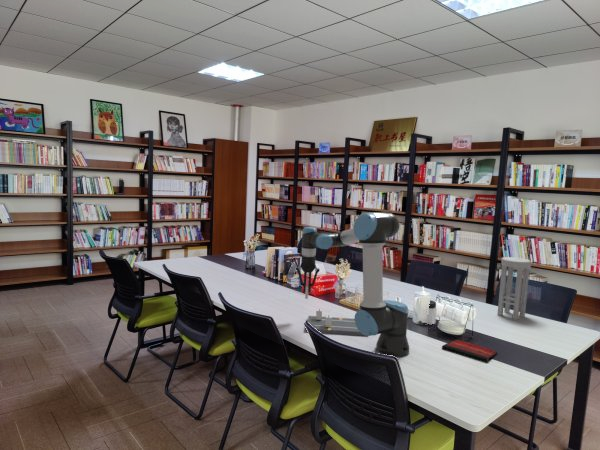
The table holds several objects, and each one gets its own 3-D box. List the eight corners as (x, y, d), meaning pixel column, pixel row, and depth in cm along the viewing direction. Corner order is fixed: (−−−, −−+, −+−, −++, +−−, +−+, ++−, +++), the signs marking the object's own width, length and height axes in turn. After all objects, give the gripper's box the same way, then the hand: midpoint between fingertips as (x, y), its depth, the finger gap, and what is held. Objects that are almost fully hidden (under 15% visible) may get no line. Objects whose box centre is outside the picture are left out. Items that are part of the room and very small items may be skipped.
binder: (487, 359, 186) (441, 345, 200) (486, 364, 186) (441, 350, 200) (498, 350, 198) (455, 338, 212) (498, 355, 198) (454, 342, 212)
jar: (416, 320, 240) (417, 299, 239) (428, 319, 243) (430, 299, 242) (425, 325, 232) (426, 304, 231) (437, 324, 234) (439, 303, 233)
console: (368, 336, 212) (368, 332, 212) (305, 332, 215) (305, 328, 215) (365, 322, 233) (366, 319, 233) (308, 318, 236) (308, 315, 236)
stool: (518, 321, 245) (524, 262, 241) (492, 314, 257) (497, 258, 253) (529, 316, 255) (535, 260, 251) (504, 310, 266) (509, 256, 263)
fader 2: (331, 326, 217) (331, 317, 216) (325, 326, 217) (325, 317, 217) (331, 324, 221) (331, 315, 220) (325, 323, 221) (326, 314, 221)
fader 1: (321, 319, 227) (321, 311, 227) (316, 319, 228) (316, 310, 227) (321, 317, 231) (322, 308, 231) (316, 317, 232) (316, 308, 231)
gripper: (320, 255, 230) (318, 296, 232) (297, 253, 231) (295, 295, 233) (320, 257, 222) (318, 300, 225) (295, 256, 223) (294, 299, 226)
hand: (306, 297), depth 229 cm, fingers closed
